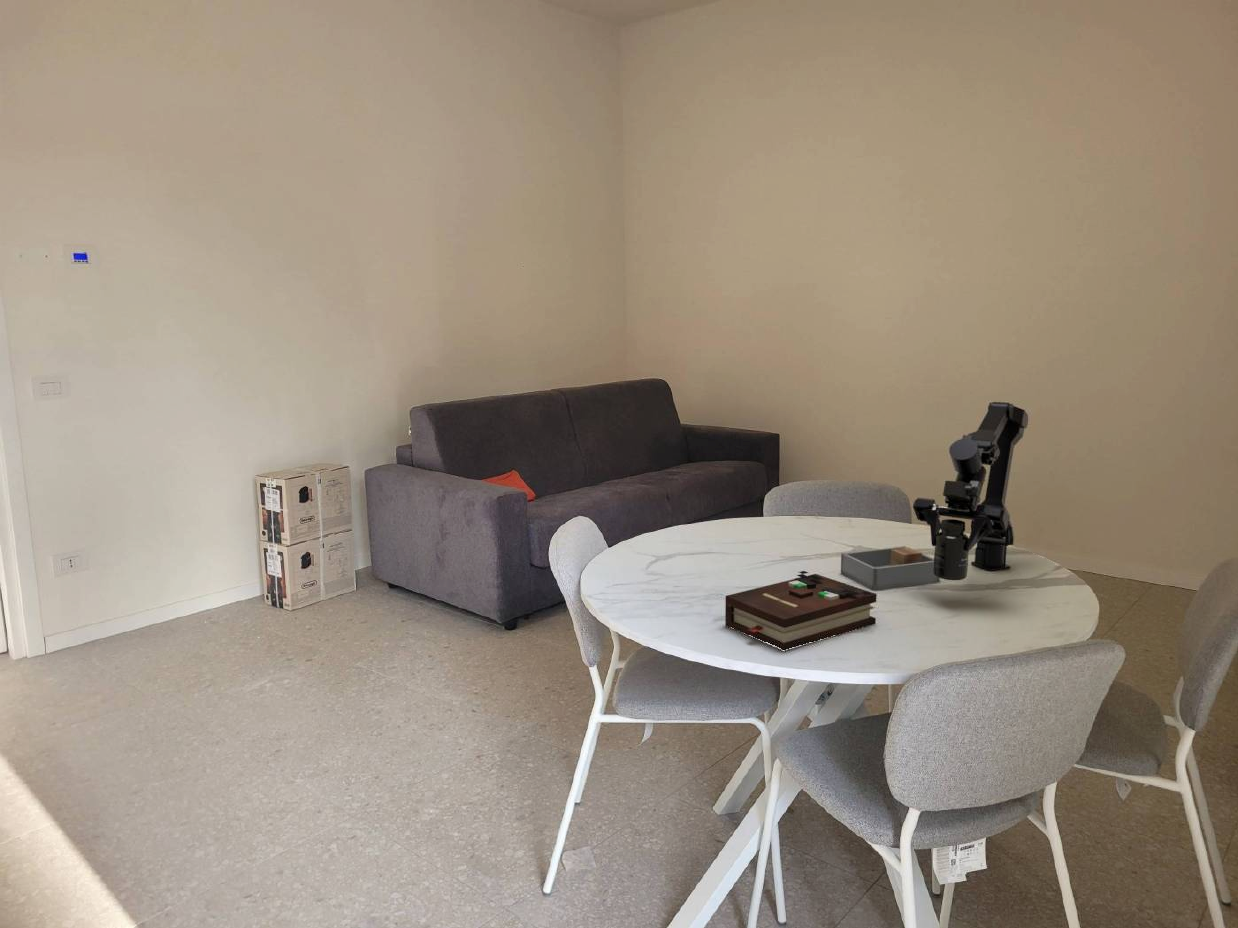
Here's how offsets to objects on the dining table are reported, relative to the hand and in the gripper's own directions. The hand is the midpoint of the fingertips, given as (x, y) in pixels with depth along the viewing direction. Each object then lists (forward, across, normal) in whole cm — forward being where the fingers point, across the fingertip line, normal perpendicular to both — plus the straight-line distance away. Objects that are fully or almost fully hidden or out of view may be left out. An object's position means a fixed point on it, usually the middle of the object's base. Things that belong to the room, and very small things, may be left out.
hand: (949, 547), depth 192 cm
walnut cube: (-3, -14, +19) cm, 24 cm away
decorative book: (+29, -21, -11) cm, 37 cm away
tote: (+1, -17, +18) cm, 24 cm away
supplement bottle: (+4, 0, +6) cm, 7 cm away
